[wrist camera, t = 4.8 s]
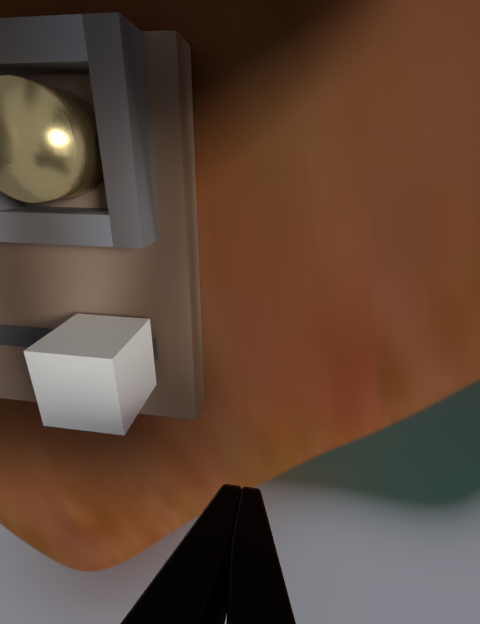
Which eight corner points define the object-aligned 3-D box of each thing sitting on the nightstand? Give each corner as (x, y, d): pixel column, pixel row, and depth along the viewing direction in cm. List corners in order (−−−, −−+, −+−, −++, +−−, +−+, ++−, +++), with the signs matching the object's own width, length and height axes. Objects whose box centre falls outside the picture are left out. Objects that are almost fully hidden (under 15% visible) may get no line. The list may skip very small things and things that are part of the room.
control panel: (190, 45, 11) (156, 10, 9) (204, 399, 17) (186, 444, 14) (-147, 57, 13) (-263, 31, 11) (-34, 374, 19) (-91, 410, 16)
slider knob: (150, 318, 14) (112, 359, 11) (156, 384, 15) (124, 435, 12) (77, 313, 14) (23, 351, 11) (89, 377, 15) (43, 425, 12)
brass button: (101, 87, 11) (61, 73, 9) (115, 197, 12) (82, 204, 10) (7, 89, 11) (-49, 76, 9) (30, 195, 13) (-16, 201, 11)
